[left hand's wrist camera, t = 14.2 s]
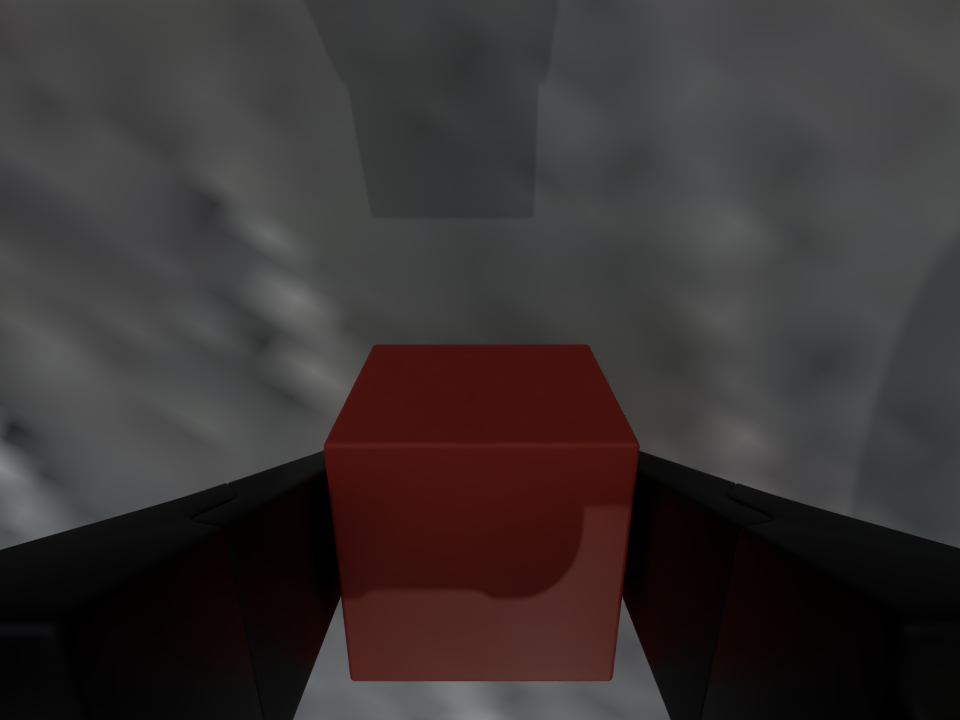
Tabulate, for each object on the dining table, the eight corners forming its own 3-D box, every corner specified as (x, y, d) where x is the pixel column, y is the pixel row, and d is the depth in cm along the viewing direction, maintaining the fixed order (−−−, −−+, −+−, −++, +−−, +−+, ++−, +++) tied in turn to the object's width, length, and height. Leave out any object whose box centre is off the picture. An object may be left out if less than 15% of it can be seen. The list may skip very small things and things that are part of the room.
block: (372, 343, 12) (321, 443, 8) (589, 343, 12) (641, 443, 8) (386, 527, 13) (349, 683, 10) (575, 527, 13) (613, 683, 10)
